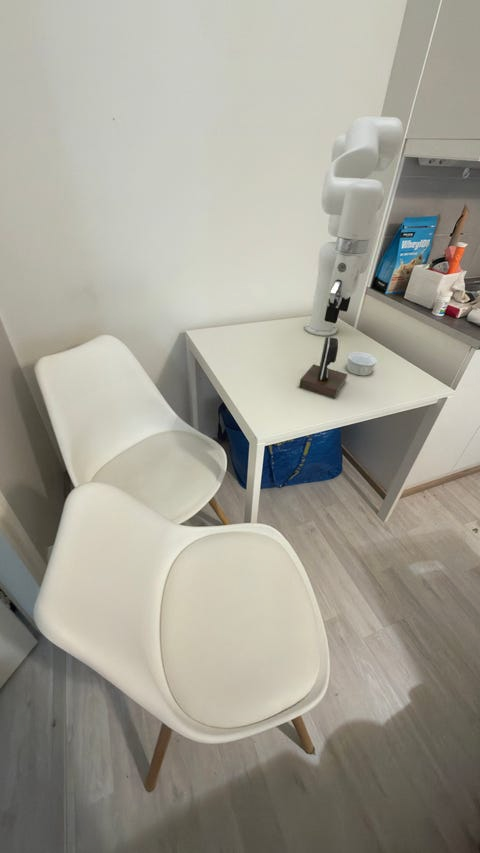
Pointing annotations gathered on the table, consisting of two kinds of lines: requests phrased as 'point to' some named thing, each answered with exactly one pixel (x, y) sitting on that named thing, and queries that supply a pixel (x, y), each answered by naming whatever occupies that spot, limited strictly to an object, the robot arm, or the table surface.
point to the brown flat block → (323, 382)
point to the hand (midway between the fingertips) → (336, 315)
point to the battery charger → (327, 357)
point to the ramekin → (360, 363)
